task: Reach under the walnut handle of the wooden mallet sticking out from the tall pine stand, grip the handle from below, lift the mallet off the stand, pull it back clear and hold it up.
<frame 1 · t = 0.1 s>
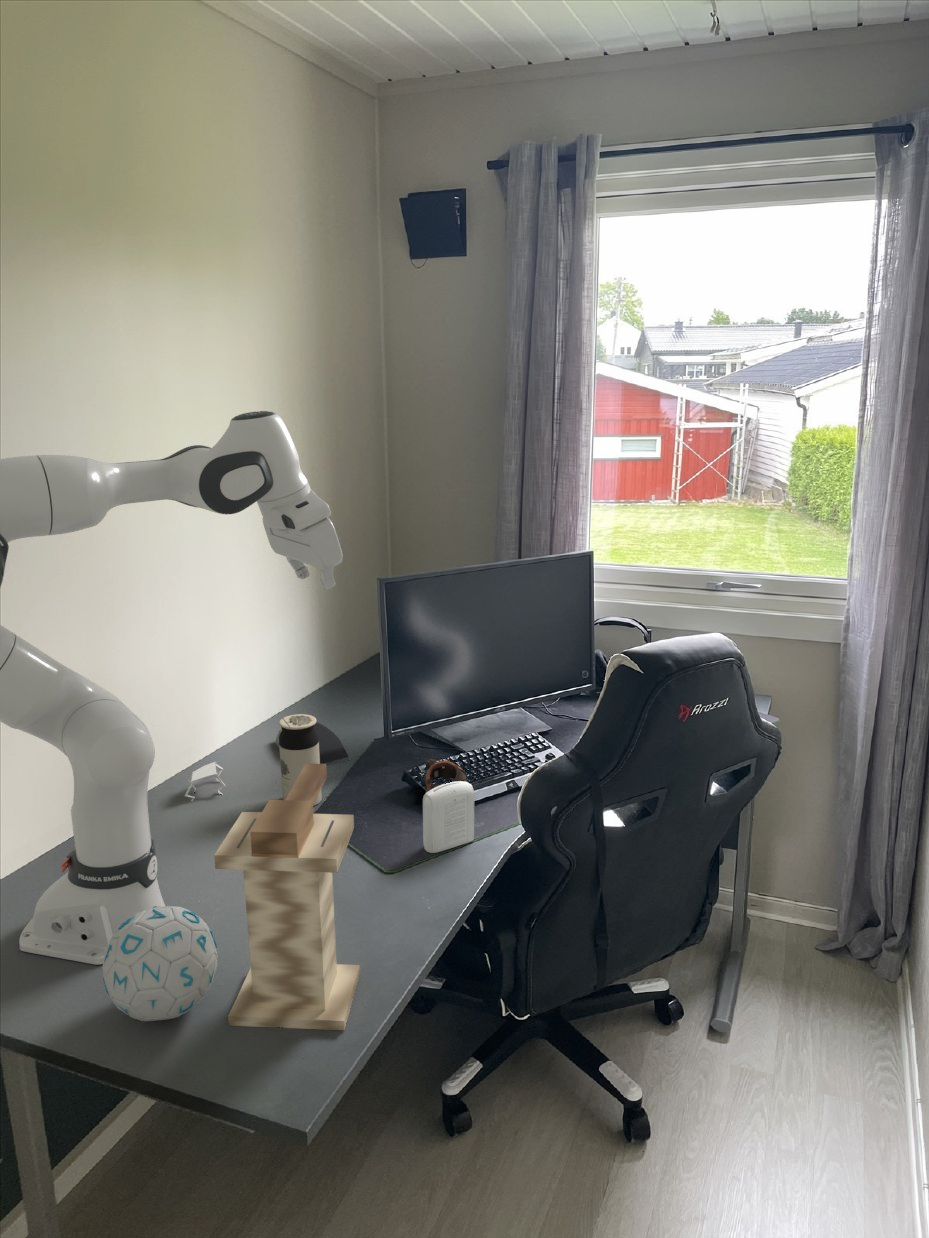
hand: (316, 582, 153), 52 cm above the table, tool tilted 20°, fingers open, 8 cm apart
puzzle ball: (166, 1008, 127), on the table
dark grey flat piece: (311, 753, 214), on the table
photo printer: (449, 845, 171), on the table
travel mug: (302, 802, 189), on the table
light grey legged piece: (210, 791, 194), on the table
pottery mug: (444, 793, 193), on the table
pine stand: (297, 998, 129), on the table
wooden mallet: (292, 823, 125), point 26 cm above the table, touching pine stand
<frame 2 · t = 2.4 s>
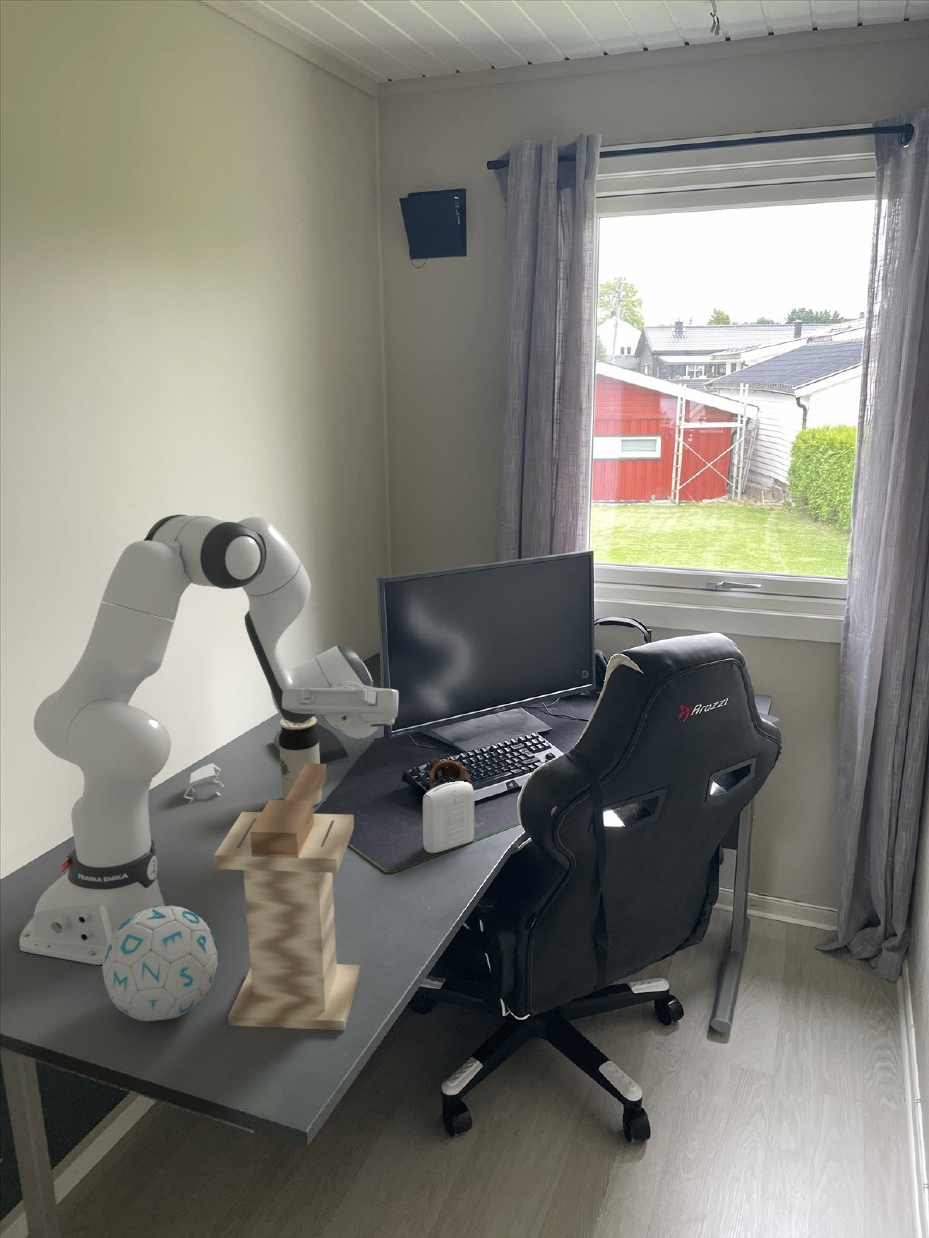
hand: (333, 693, 151), 34 cm above the table, tool pointing upward, fingers open, 8 cm apart
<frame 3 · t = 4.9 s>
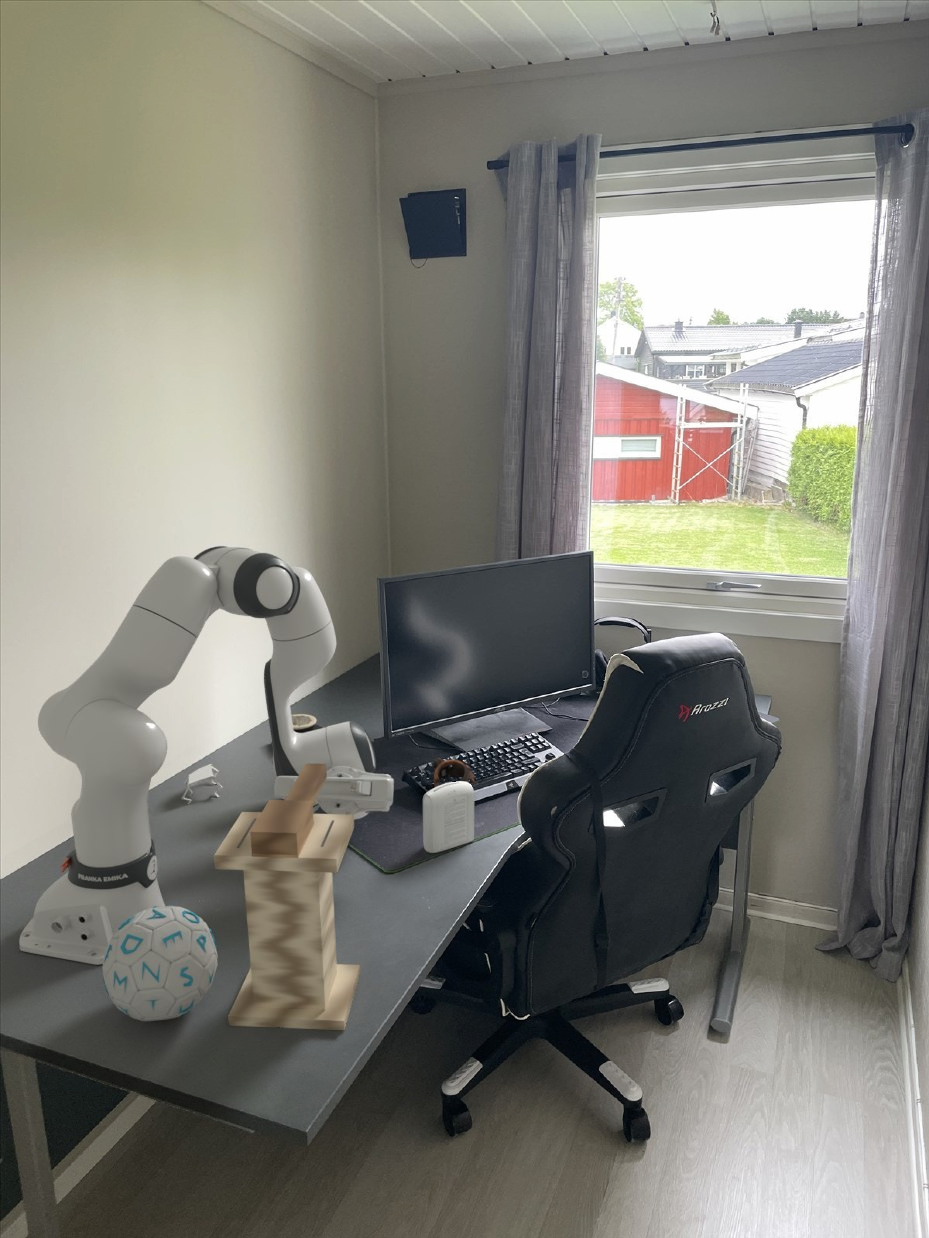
hand: (326, 785, 147), 21 cm above the table, tool pointing upward, fingers open, 8 cm apart
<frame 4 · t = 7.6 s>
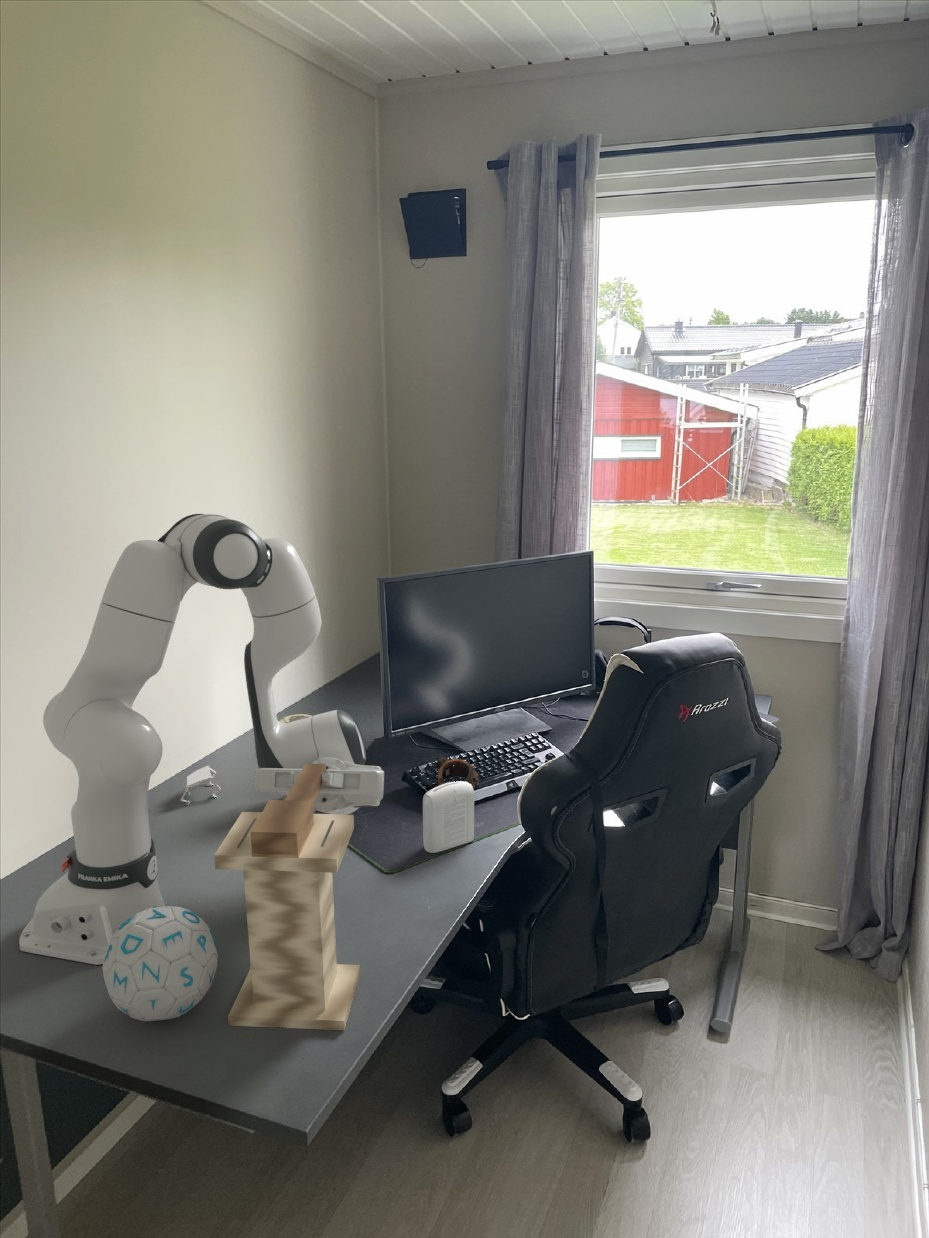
hand: (310, 777, 135), 28 cm above the table, tool pointing upward, fingers closed on wooden mallet, 3 cm apart
wooden mallet: (292, 823, 125), point 26 cm above the table, touching gripper, pine stand
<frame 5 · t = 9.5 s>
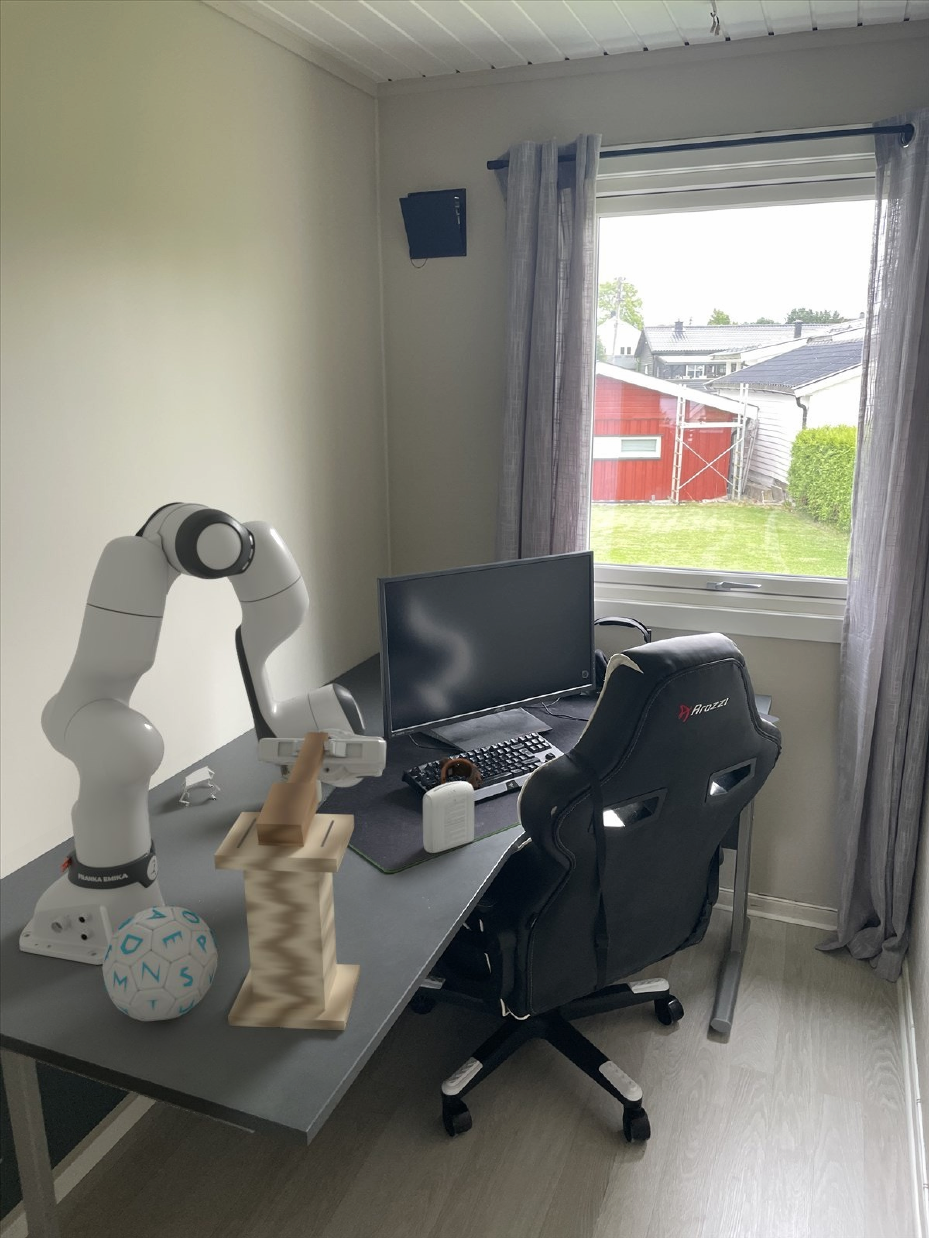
hand: (313, 746, 137), 32 cm above the table, tool pointing upward, fingers closed on wooden mallet, 3 cm apart
wooden mallet: (296, 803, 127), point 28 cm above the table, tilted 10°, touching gripper
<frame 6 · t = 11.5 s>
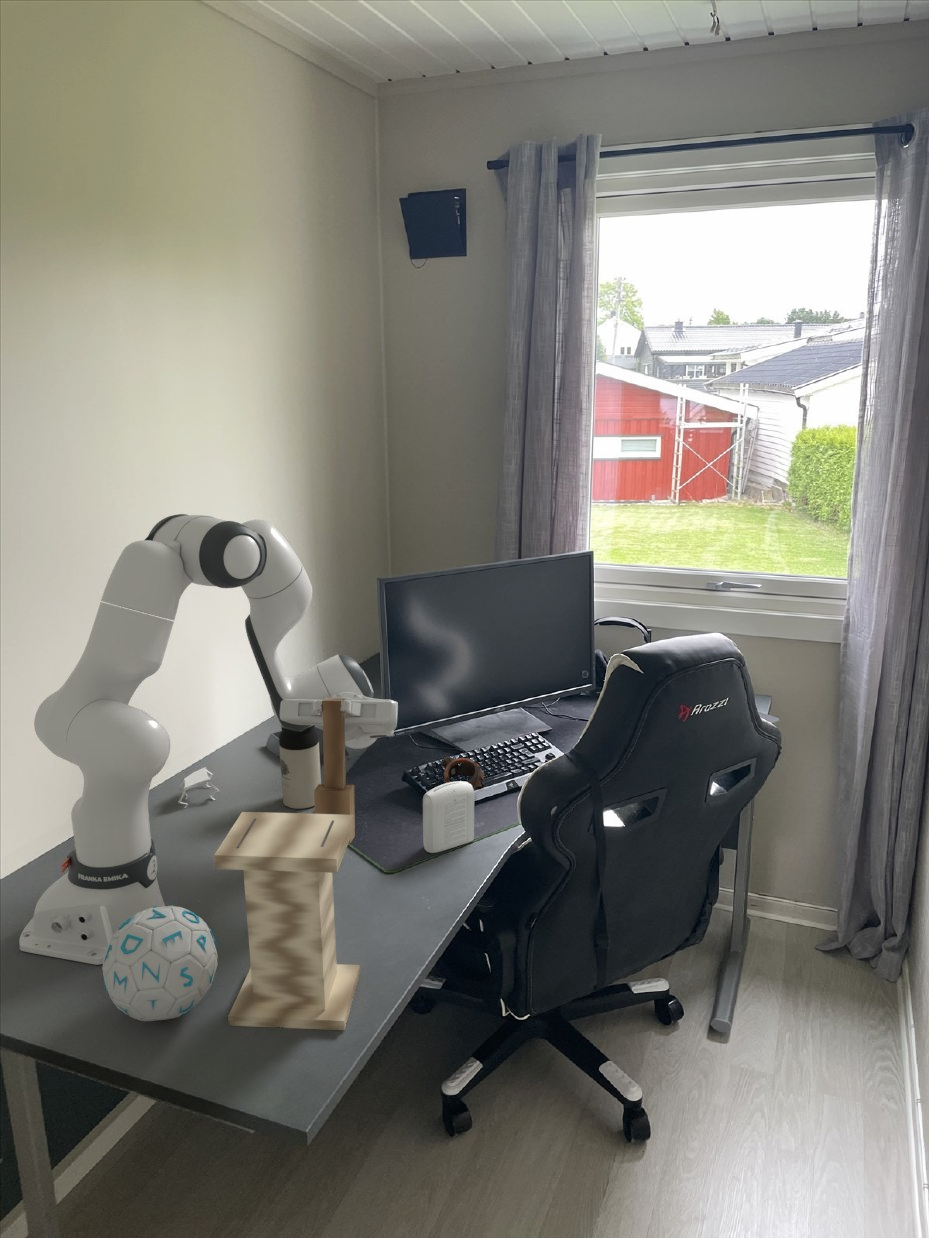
hand: (331, 705, 149), 33 cm above the table, tool pointing upward, fingers closed on wooden mallet, 3 cm apart
wooden mallet: (336, 784, 154), point 19 cm above the table, tilted 82°, touching gripper
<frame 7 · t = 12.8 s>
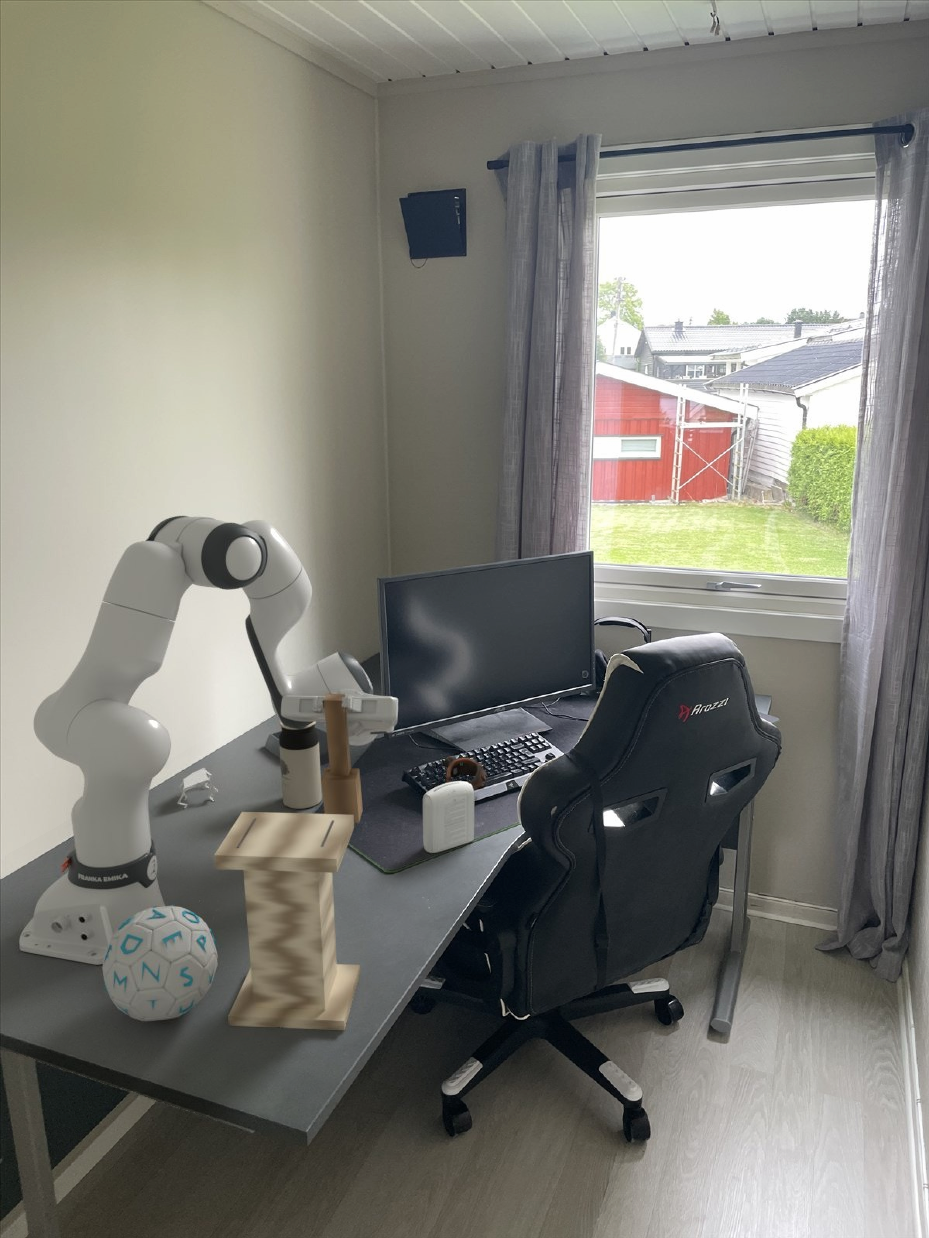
hand: (332, 701, 150), 33 cm above the table, tool pointing upward, fingers closed on wooden mallet, 3 cm apart
wooden mallet: (342, 768, 159), point 19 cm above the table, tilted 99°, touching gripper
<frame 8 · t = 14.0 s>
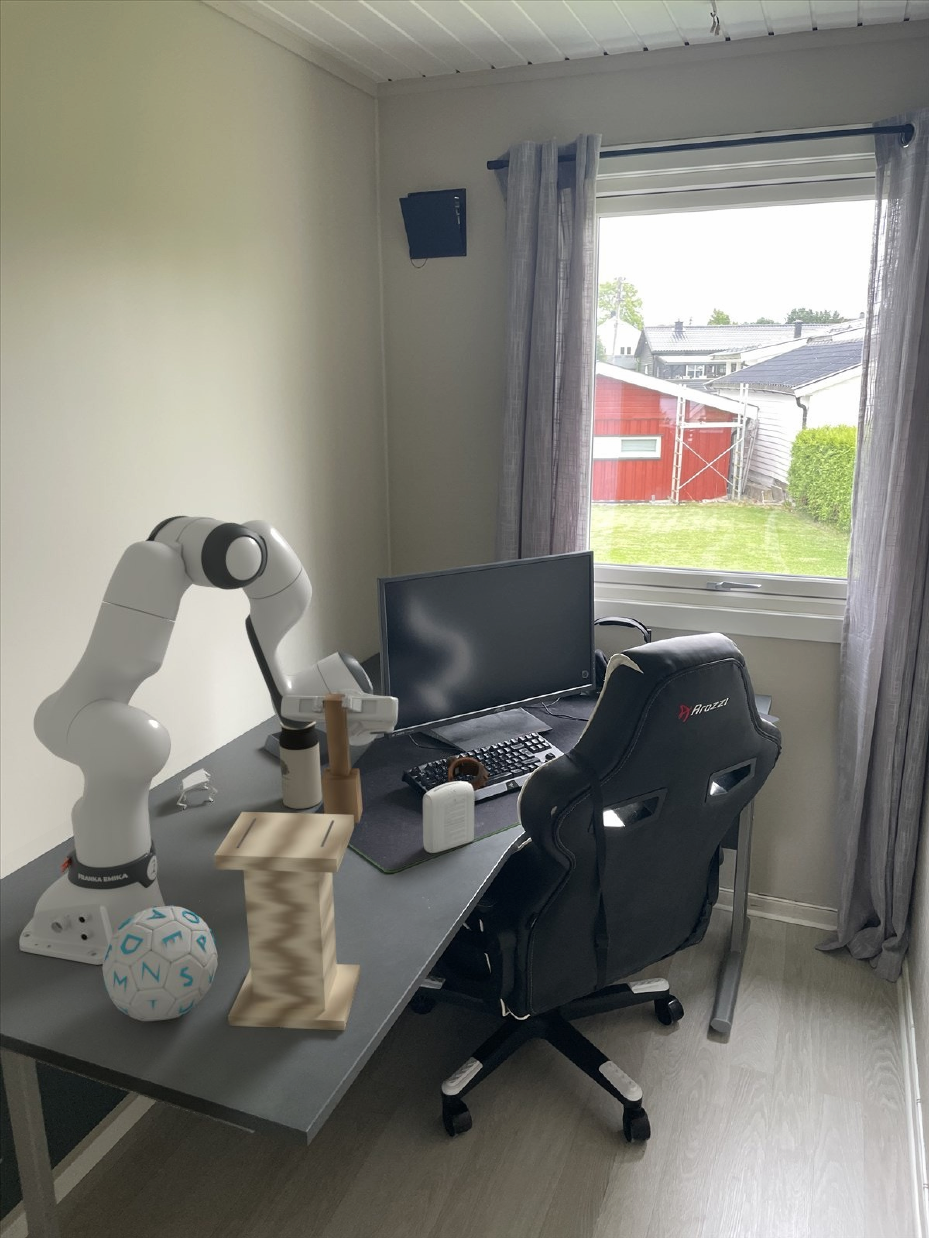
hand: (332, 701, 150), 33 cm above the table, tool pointing upward, fingers closed on wooden mallet, 3 cm apart
wooden mallet: (342, 768, 159), point 19 cm above the table, tilted 99°, touching gripper
at the end: the gripper is holding wooden mallet; wooden mallet touching gripper; wooden mallet moved 34.2 cm from its start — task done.
